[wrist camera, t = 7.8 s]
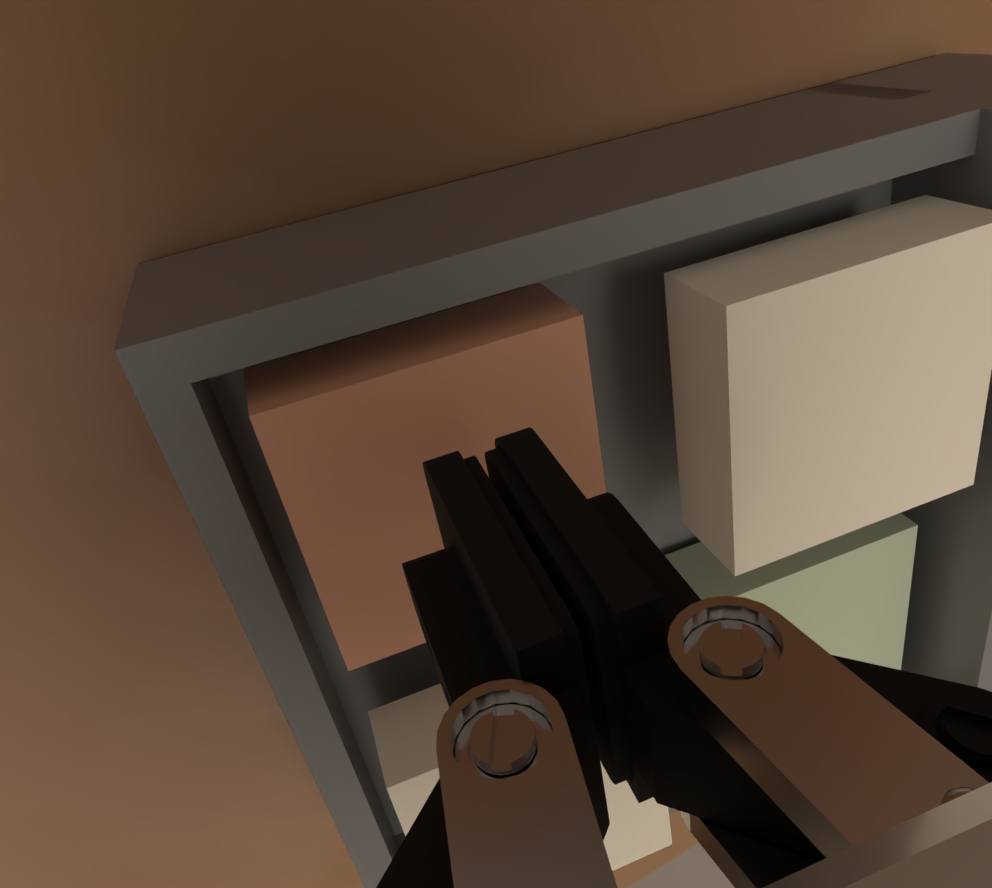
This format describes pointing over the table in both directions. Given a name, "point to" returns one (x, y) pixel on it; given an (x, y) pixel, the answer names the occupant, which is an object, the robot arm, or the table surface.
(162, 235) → the table surface
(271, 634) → the keypad
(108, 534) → the table surface
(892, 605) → the key sage
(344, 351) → the key terracotta
